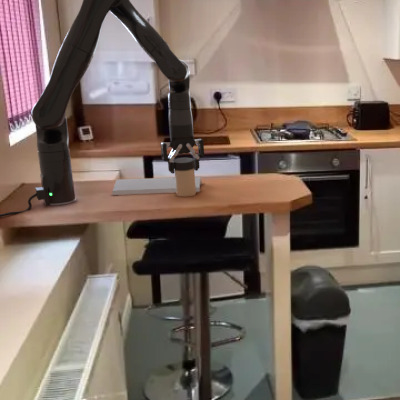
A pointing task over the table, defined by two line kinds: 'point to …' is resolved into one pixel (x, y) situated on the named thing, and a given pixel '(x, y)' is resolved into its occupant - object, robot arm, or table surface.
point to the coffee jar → (185, 182)
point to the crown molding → (148, 186)
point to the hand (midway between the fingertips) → (184, 171)
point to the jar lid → (183, 163)
